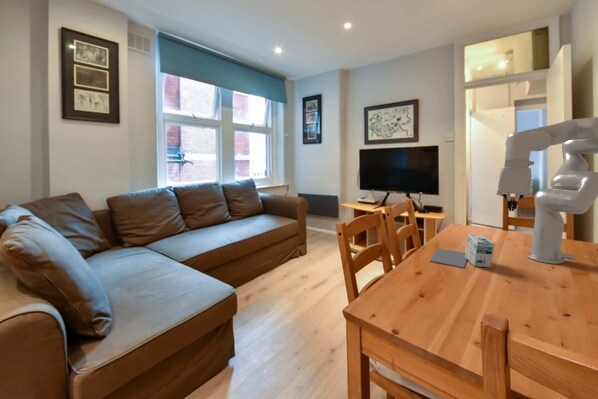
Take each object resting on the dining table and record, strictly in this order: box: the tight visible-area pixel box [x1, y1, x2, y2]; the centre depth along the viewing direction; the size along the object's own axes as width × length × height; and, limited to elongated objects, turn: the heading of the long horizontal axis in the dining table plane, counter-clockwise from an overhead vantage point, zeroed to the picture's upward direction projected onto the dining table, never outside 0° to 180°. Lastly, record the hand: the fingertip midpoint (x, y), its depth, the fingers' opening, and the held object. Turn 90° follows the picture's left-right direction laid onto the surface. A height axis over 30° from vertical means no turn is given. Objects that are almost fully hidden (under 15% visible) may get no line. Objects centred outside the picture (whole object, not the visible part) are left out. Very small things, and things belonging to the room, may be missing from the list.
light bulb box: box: [464, 234, 496, 268], centre depth 118 cm, size 11×7×11 cm, turn 168°
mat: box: [429, 248, 468, 269], centre depth 125 cm, size 13×20×1 cm, turn 144°
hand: (511, 210), depth 109 cm, fingers closed
